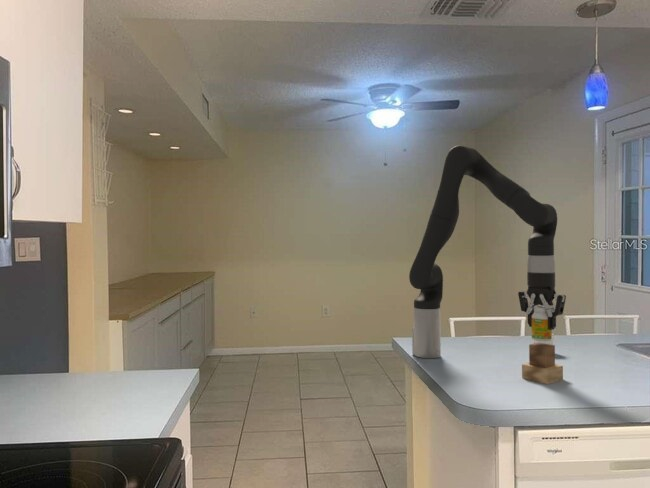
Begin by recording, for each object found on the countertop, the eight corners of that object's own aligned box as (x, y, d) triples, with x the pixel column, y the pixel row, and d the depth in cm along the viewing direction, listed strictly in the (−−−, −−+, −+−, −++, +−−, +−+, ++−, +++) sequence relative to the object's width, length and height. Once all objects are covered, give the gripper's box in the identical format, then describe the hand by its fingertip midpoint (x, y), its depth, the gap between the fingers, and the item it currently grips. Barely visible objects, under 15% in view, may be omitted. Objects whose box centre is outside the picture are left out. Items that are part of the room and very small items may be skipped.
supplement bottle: (531, 340, 137) (531, 307, 137) (531, 337, 142) (531, 305, 142) (552, 342, 135) (552, 308, 135) (551, 338, 140) (550, 306, 140)
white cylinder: (555, 351, 172) (555, 332, 172) (552, 355, 167) (552, 335, 167) (534, 349, 176) (534, 330, 176) (531, 353, 170) (531, 334, 170)
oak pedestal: (522, 377, 140) (521, 364, 140) (537, 373, 144) (537, 360, 144) (547, 384, 133) (547, 370, 133) (562, 379, 138) (562, 365, 138)
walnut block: (529, 364, 140) (529, 344, 140) (539, 362, 142) (538, 342, 142) (545, 368, 135) (545, 347, 135) (554, 365, 138) (554, 345, 138)
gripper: (571, 271, 135) (572, 330, 135) (526, 269, 147) (526, 323, 147) (557, 272, 131) (558, 333, 131) (511, 270, 143) (512, 326, 143)
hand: (541, 327), depth 139 cm, fingers closed on supplement bottle, 5 cm apart
